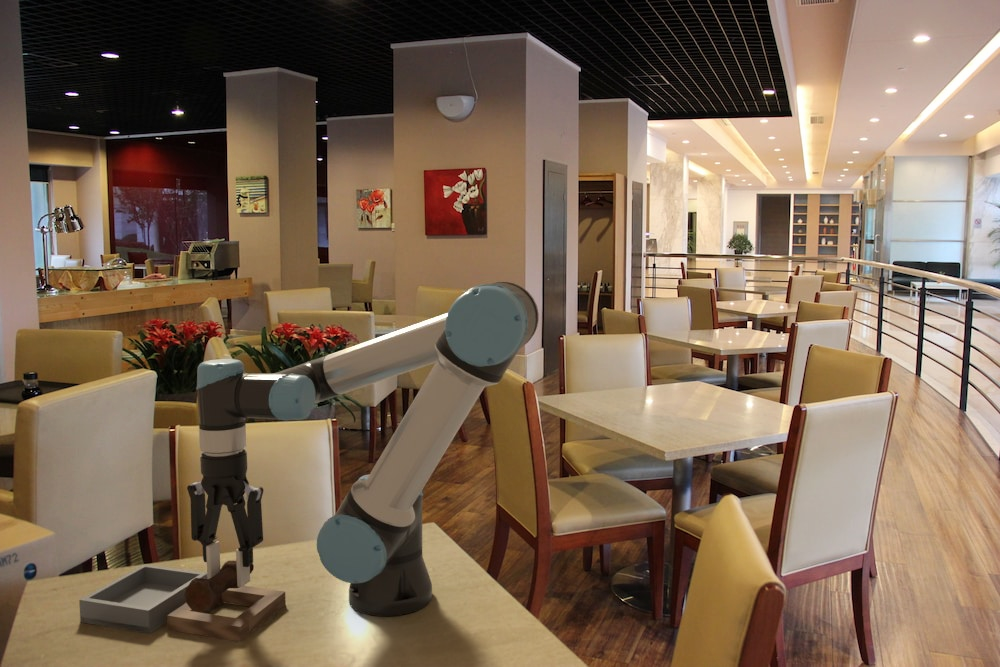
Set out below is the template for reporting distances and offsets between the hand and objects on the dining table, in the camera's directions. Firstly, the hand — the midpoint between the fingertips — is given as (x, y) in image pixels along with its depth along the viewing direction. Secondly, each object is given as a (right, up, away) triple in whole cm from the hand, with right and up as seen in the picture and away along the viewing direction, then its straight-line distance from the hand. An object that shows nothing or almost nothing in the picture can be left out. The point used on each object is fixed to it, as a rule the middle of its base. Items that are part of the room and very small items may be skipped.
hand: (229, 581), depth 140 cm
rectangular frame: (0, -6, +1) cm, 6 cm away
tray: (-16, -6, +4) cm, 17 cm away
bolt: (0, +3, -2) cm, 4 cm away
